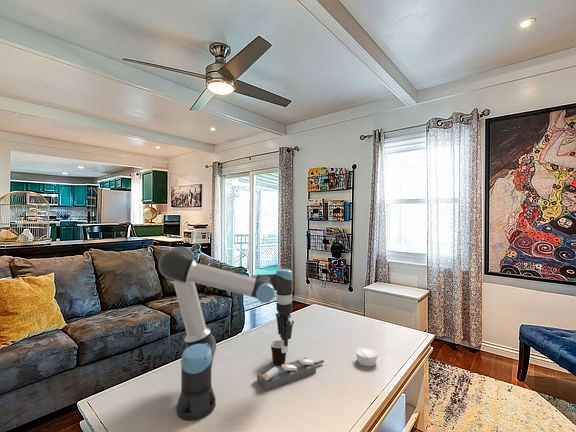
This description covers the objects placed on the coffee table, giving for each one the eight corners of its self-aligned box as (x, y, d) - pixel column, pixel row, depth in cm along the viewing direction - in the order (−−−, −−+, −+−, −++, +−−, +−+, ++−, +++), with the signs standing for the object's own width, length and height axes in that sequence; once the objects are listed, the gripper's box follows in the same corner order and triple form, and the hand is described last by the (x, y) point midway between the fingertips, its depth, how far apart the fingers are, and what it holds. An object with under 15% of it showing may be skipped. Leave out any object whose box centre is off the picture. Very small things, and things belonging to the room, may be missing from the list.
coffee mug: (285, 368, 145) (285, 348, 145) (268, 366, 147) (268, 347, 147) (289, 356, 157) (289, 338, 156) (274, 354, 158) (274, 337, 158)
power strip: (265, 390, 127) (265, 381, 127) (256, 380, 135) (257, 371, 134) (328, 368, 146) (328, 359, 146) (317, 360, 153) (317, 352, 153)
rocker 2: (284, 370, 133) (285, 367, 133) (281, 366, 136) (282, 364, 136) (296, 370, 137) (297, 367, 137) (293, 367, 139) (293, 364, 140)
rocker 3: (302, 364, 138) (303, 361, 139) (298, 361, 141) (299, 358, 141) (313, 364, 142) (314, 362, 142) (309, 361, 145) (310, 359, 145)
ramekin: (351, 362, 152) (352, 352, 152) (362, 354, 160) (362, 345, 160) (371, 370, 144) (371, 360, 144) (381, 361, 153) (381, 352, 152)
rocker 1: (266, 380, 128) (265, 378, 128) (263, 377, 131) (262, 374, 131) (279, 371, 132) (278, 369, 131) (275, 368, 134) (275, 366, 134)
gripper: (298, 304, 130) (298, 355, 131) (284, 297, 141) (284, 344, 142) (284, 307, 126) (284, 360, 127) (270, 299, 138) (271, 348, 138)
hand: (284, 351), depth 135 cm, fingers closed
